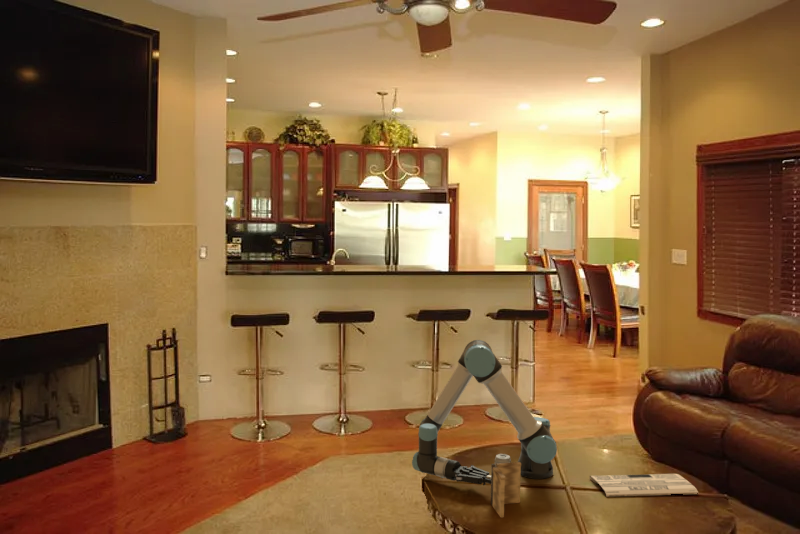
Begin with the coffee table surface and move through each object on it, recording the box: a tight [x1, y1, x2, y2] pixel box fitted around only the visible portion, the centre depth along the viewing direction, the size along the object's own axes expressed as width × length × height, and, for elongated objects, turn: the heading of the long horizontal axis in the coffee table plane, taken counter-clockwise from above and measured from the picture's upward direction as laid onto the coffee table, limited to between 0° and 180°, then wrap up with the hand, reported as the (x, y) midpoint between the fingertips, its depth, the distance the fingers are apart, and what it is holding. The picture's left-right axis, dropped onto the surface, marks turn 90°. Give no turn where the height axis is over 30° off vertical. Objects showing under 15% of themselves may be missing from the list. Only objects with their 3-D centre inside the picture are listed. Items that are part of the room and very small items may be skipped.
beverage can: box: [494, 453, 512, 467], centre depth 260 cm, size 6×6×12 cm
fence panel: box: [490, 461, 522, 506], centre depth 242 cm, size 11×2×15 cm, turn 101°
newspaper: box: [589, 473, 699, 498], centre depth 260 cm, size 37×19×3 cm, turn 95°
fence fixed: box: [492, 467, 505, 518], centre depth 235 cm, size 9×2×15 cm, turn 10°
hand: (502, 482), depth 245 cm, fingers closed
